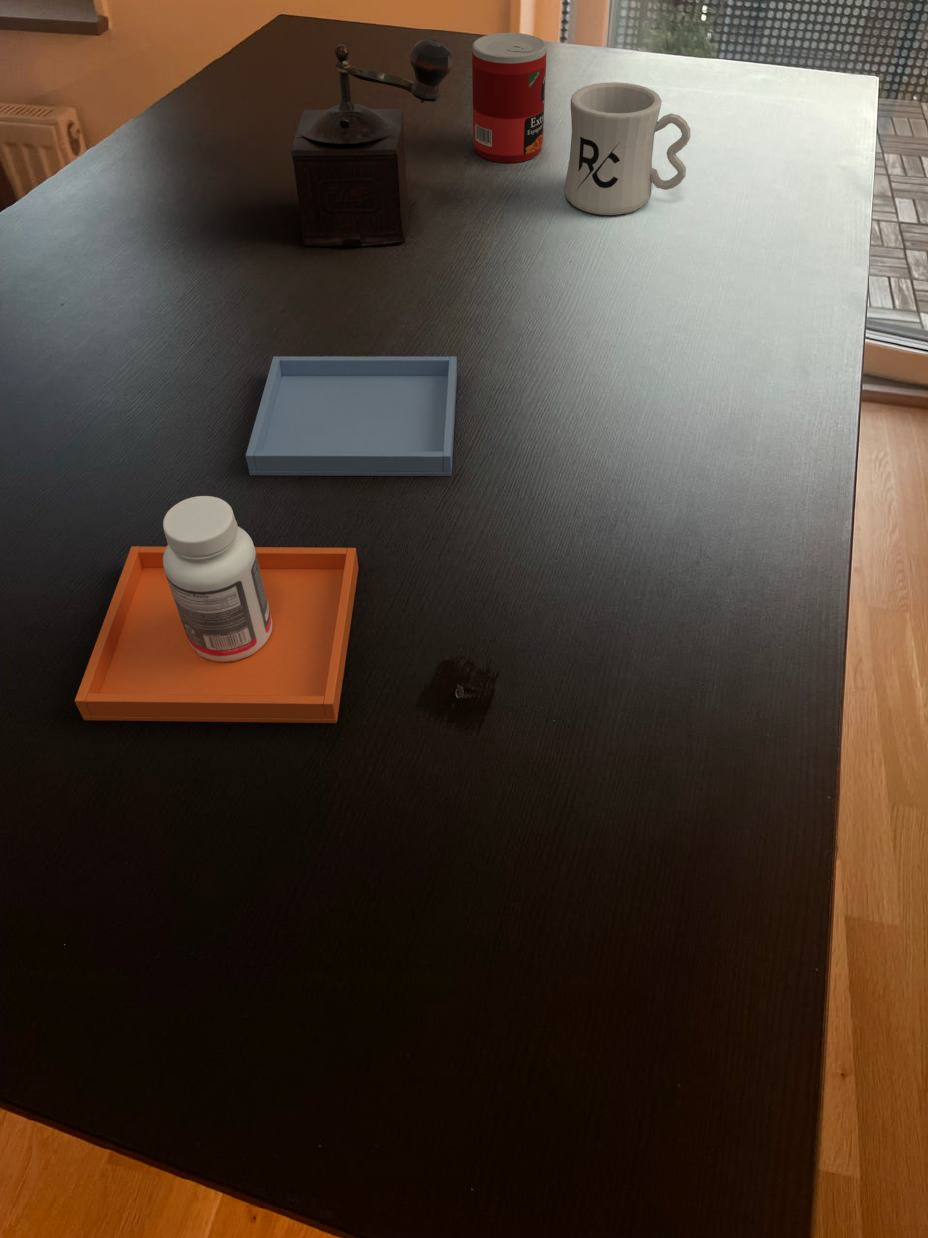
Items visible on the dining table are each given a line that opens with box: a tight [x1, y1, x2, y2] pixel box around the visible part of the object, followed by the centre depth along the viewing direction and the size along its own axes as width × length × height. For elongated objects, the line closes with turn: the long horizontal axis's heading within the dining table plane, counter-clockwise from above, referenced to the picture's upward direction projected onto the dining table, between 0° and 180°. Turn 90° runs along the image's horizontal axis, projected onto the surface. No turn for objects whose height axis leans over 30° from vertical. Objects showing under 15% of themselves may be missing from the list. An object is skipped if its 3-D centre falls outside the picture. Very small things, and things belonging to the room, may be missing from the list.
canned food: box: [471, 32, 547, 164], centre depth 110 cm, size 8×8×11 cm
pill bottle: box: [162, 495, 272, 662], centre depth 60 cm, size 5×5×10 cm
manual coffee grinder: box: [290, 38, 454, 248], centre depth 96 cm, size 16×11×18 cm
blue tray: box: [245, 355, 458, 477], centre depth 78 cm, size 15×13×2 cm
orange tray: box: [74, 545, 359, 724], centre depth 63 cm, size 15×13×2 cm
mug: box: [564, 81, 691, 216], centre depth 101 cm, size 12×9×10 cm
